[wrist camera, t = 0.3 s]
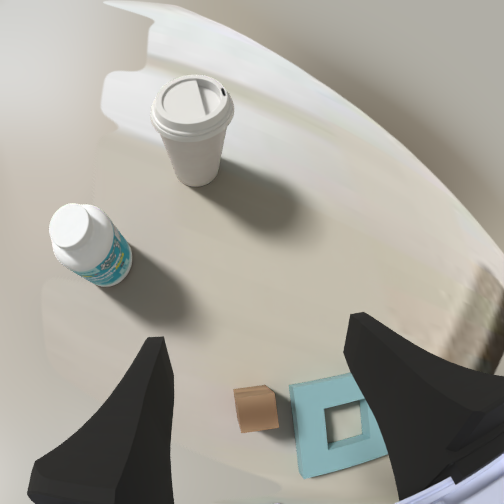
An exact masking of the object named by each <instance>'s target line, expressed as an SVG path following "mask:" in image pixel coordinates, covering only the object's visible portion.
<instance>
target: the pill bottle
mask: <svg viewBox="0 0 504 504" xmlns="http://www.w3.org/2000/svg"><path fill="white" fill-rule="evenodd" d="M49 232H50V237H51V239H52V246H53V251H54V253H55V256H56V258H57V259H58V261H59V262H60V263H61V264H62V265H64V266H65V267H66V268H68V269H70V270H71V271H73V272H75V273H76V274H78V275H80V276H81V277H83V278H85V279H86V280H88V281H90V282H92V283H93V284H95V285H98V286H102V287H109V286H113V285H116V284H118V283H119V282H121V281H122V280H123V279H124V278H125V277H126V276H127V274H128V272H129V270H130V268H131V265H132V252H131V248H130V246H129V244H128V243H127V241H126V240H125V239H124V237H123V236H122V235H121V233H120V232H119V231H118V229H117V228H116V227H115V225H114V224H113V223H112V221H111V220H110V219H109V217H108V216H107V215H106V214H105V212H103V211H102V210H101V209H100V208H98V207H96V206H93V205H88V204H84V205H79V204H75V203H71V204H67V205H64V206H63V207H61V208H60V209H58V210H57V212H56V213H55V214H54V216H53V217H52V219H51V222H50V227H49Z"/></svg>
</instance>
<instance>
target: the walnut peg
mask: <svg viewBox="0 0 504 504" xmlns="http://www.w3.org/2000/svg"><path fill="white" fill-rule="evenodd" d="M234 397H235V404H236V411H237V418H238V422H239V426H240V429H241V433H247V432H254V431H261V430H267V429H274V428H279V423H278V415H277V407H276V400H275V393H274V392H273V391H272V390H270V389H269V388H268V387H267V386H266V385H262V386H255V387H247V388H239V389H234Z"/></svg>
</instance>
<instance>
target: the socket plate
mask: <svg viewBox="0 0 504 504" xmlns="http://www.w3.org/2000/svg"><path fill="white" fill-rule="evenodd" d="M289 391H290V399H291V407H292V415H293V423H294V432H295V440H296V449H297V458H298V466H299V473H300V474H301V476H302V477H303V478H304V479H306V478H310V477H314V476H319V475H323V474H326V473H330V472H334V471H337V470H341V469H344V468H348V467H351V466H354V465H358V464H361V463H364V462H367V461H370V460H373V459H376V458H378V457H381V456H384V455H387V454H388V452H387V449H386V446H385V443H384V440H383V437H382V434H381V432H380V429H379V426H378V424H377V421H376V419H375V417H374V415H373V413H372V411H371V409H370V407H369V405H368V403H367V402H366V400H365V398H364V396H363V394H362V392H361V391H360V389H359V387H358V385H357V383H356V381H355V380H354V378H353V376H352V374H351V373H347V374H343V375H338V376H333V377H329V378H324V379H319V380H314V381H309V382H304V383H298V384H293V385H289ZM357 400H359V401H360V411H361V423H362V434H361V435H358V436H354V437H351V438H347V439H344V440H340V441H336V442H333V443H329V444H327V434H326V424H325V415H324V408H329V407H333V406H337V405H341V404H345V403H349V402H353V401H357Z"/></svg>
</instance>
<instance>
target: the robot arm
mask: <svg viewBox="0 0 504 504" xmlns="http://www.w3.org/2000/svg"><path fill="white" fill-rule="evenodd" d="M343 353H344V356H345V358H346V361H347V364H348V367H349V369H350V372H351V374H352V376H353V378H354V380H355V381H356V383H357V385H358V387H359V389H360V391H361V392H362V394H363V396H364V398H365V400H366V402H367V403H368V405H369V407H370V409H371V411H372V413H373V415H374V417H375V419H376V421H377V424H378V426H379V429H380V432H381V434H382V437H383V440H384V443H385V446H386V449H387V452H388V455H389V458H390V462H391V465H392V469H393V472H394V476H395V481H396V485H397V490H398V495H399V502H397V503H394V504H504V376H497V375H492V374H487V373H483V372H479V371H475V370H472V369H468V368H465V367H462V366H460V365H457V364H454V363H451V362H449V361H446V360H444V359H442V358H440V357H438V356H436V355H433V354H431V353H429V352H427V351H426V350H424V349H422V348H420V347H418V346H417V345H415V344H413V343H411V342H410V341H408V340H407V339H405V338H403V337H402V336H400V335H399V334H397V333H396V332H394V331H392V330H391V329H389V328H388V327H386V326H385V325H383V324H382V323H380V322H379V321H377V320H376V319H374V318H373V317H371V316H370V315H368V314H366V313H365V312H361V313H355V314H350V319H349V325H348V330H347V336H346V341H345V346H344V351H343ZM173 407H174V374H173V370H172V367H171V363H170V359H169V355H168V352H167V348H166V344H165V340H164V337H148V338H147V339H146V340H145V342H144V344H143V346H142V348H141V349H140V351H139V353H138V354H137V356H136V358H135V359H134V361H133V363H132V364H131V366H130V368H129V369H128V371H127V372H126V374H125V375H124V377H123V378H122V380H121V381H120V383H119V384H118V385H117V387H116V388H115V390H114V391H113V392H112V394H111V395H110V396H109V398H108V399H107V400H106V401H105V403H104V404H103V405H102V406H101V407H100V408H99V410H98V411H97V412H96V413H95V414H94V415H93V416H92V417H91V418H90V419H89V420H88V421H87V422H86V423H85V424H84V425H83V426H82V427H81V428H80V429H79V430H78V431H77V432H76V433H74V434H73V435H72V436H71V437H70V438H68V439H67V440H66V441H65V442H63V443H62V444H61V445H59V446H58V447H57V448H55V449H54V450H52V451H50V452H49V453H47V454H46V455H44V456H43V457H41V458H40V459H38V460H36V461H35V463H34V466H33V469H32V473H31V477H30V482H29V487H28V491H27V495H28V496H29V498H30V499H31V501H33V502H34V503H35V504H174V498H173V488H172V478H171V461H170V443H171V430H172V418H173ZM276 504H280V503H276Z"/></svg>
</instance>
